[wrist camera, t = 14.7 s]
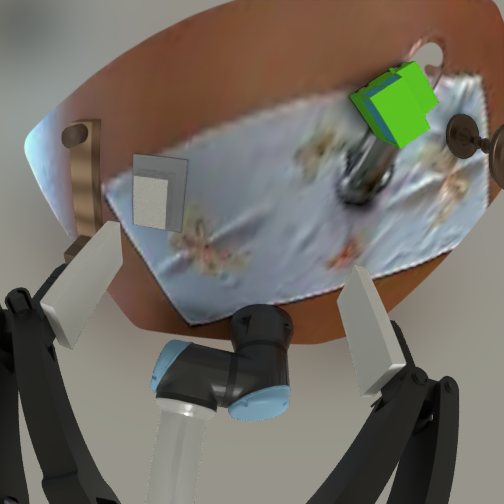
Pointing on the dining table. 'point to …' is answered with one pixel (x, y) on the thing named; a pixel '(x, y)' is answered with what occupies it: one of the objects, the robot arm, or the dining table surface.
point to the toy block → (397, 104)
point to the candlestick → (476, 144)
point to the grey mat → (179, 183)
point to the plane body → (84, 180)
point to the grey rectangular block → (153, 198)
